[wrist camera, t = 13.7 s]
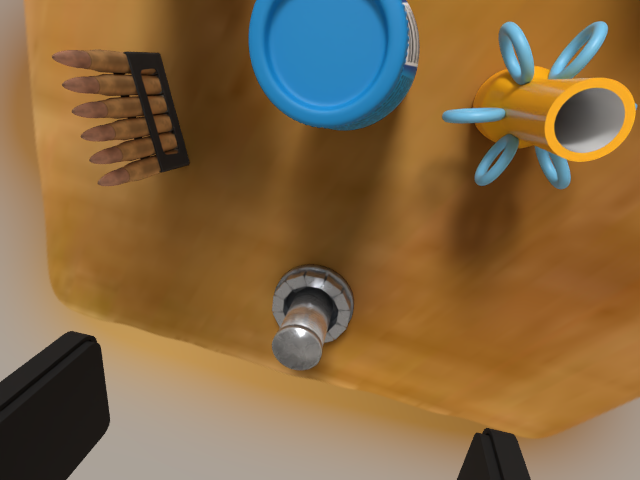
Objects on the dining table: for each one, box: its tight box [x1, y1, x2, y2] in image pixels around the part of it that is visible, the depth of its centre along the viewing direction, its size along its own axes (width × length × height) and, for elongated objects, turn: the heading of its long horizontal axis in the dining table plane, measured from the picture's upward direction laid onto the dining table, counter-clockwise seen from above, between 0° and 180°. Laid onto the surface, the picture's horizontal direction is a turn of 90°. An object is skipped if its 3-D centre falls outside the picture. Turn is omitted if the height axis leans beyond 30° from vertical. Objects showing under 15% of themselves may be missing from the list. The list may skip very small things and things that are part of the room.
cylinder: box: [442, 21, 637, 189], centre depth 26 cm, size 12×10×15 cm
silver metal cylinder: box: [272, 287, 333, 370], centre depth 39 cm, size 5×5×8 cm
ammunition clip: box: [52, 50, 190, 186], centre depth 33 cm, size 11×2×12 cm, turn 9°
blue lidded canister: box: [249, 0, 419, 130], centre depth 25 cm, size 8×8×20 cm
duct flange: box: [272, 264, 354, 343], centre depth 42 cm, size 9×9×2 cm
